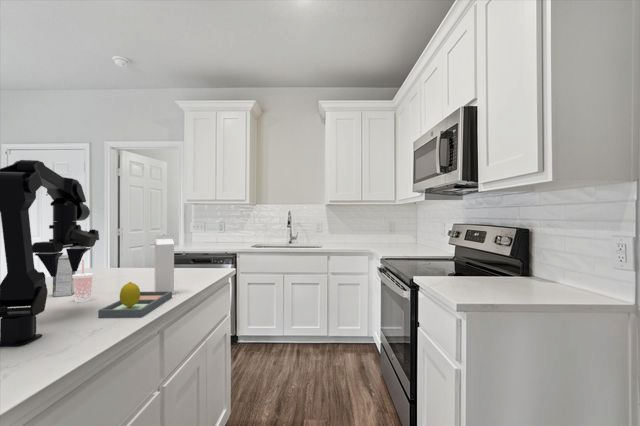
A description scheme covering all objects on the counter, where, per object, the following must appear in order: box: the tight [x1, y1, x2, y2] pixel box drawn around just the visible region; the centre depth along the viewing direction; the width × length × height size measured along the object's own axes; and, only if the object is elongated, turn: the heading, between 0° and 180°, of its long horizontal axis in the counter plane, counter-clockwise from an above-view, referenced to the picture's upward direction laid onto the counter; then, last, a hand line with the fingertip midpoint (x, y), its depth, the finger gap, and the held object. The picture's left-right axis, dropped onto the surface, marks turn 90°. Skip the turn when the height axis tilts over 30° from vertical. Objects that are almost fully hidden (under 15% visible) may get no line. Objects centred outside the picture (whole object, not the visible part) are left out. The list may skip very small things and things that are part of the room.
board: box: [97, 291, 173, 319], centre depth 112 cm, size 24×12×2 cm, turn 3°
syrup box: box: [52, 254, 76, 298], centre depth 128 cm, size 6×6×14 cm
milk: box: [154, 234, 175, 296], centre depth 130 cm, size 6×6×22 cm
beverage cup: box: [72, 259, 94, 303], centre depth 120 cm, size 6×6×14 cm
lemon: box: [119, 281, 141, 308], centre depth 106 cm, size 6×6×8 cm
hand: (64, 274), depth 103 cm, fingers open, 9 cm apart
